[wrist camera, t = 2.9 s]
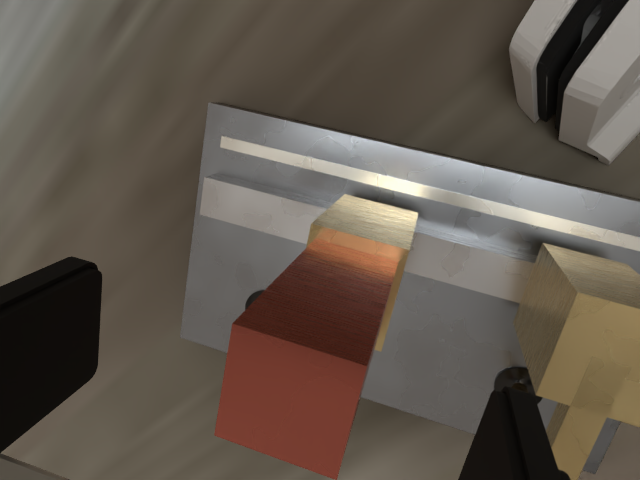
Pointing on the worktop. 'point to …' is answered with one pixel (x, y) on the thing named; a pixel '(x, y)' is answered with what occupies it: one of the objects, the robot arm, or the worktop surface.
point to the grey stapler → (581, 71)
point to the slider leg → (316, 337)
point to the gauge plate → (424, 307)
